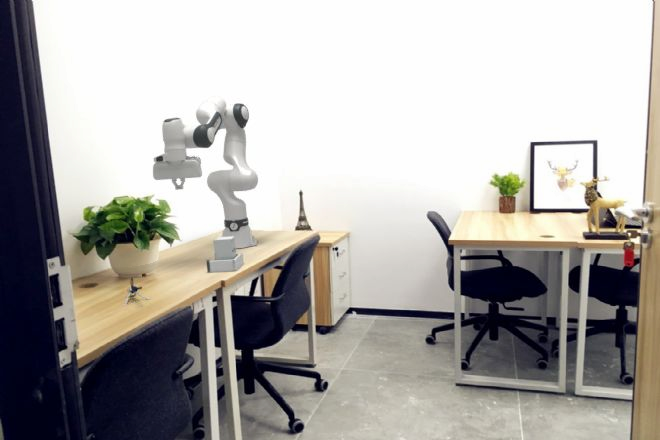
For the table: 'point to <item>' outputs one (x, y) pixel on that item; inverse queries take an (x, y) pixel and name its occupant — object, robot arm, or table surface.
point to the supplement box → (225, 248)
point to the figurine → (133, 291)
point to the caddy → (225, 264)
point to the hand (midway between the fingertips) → (179, 189)
